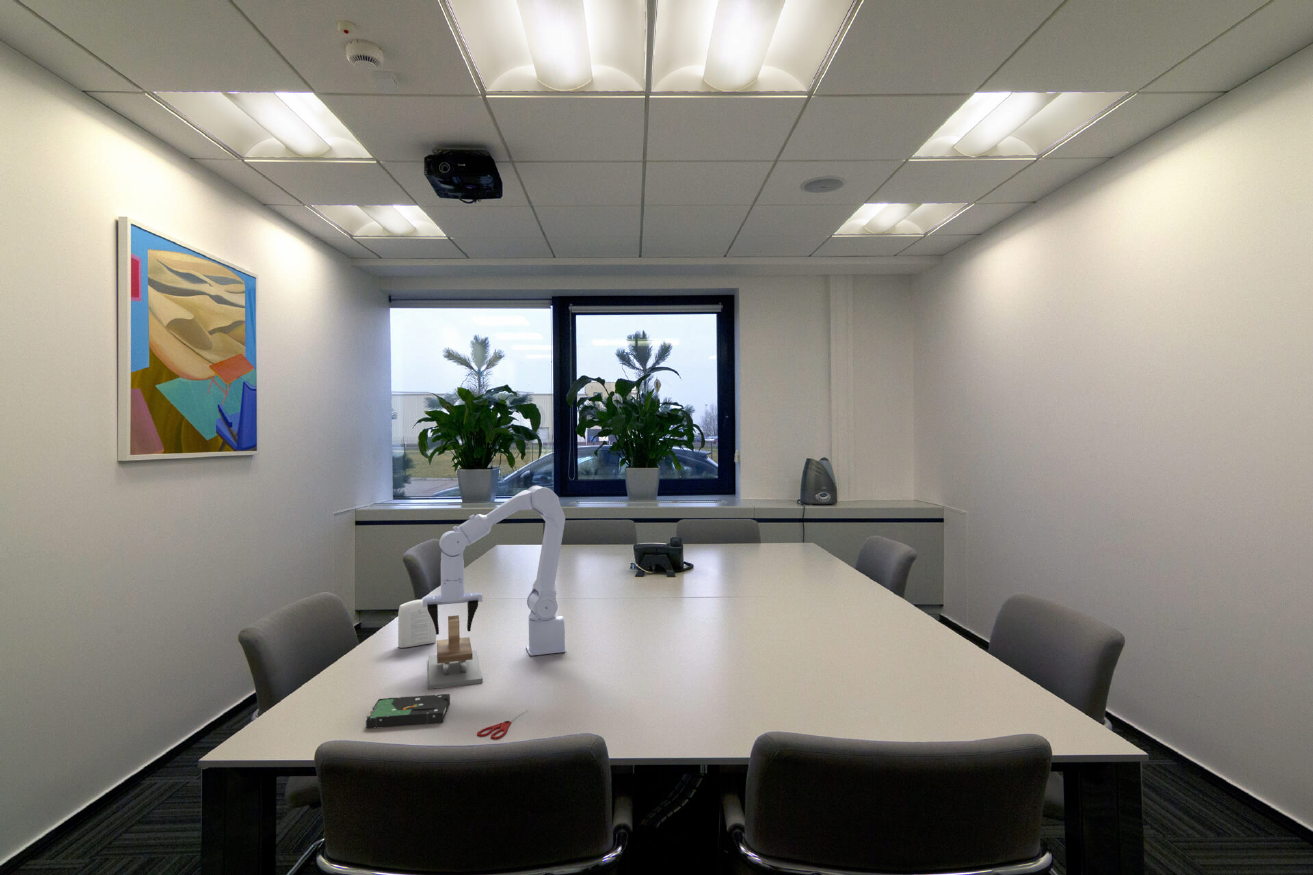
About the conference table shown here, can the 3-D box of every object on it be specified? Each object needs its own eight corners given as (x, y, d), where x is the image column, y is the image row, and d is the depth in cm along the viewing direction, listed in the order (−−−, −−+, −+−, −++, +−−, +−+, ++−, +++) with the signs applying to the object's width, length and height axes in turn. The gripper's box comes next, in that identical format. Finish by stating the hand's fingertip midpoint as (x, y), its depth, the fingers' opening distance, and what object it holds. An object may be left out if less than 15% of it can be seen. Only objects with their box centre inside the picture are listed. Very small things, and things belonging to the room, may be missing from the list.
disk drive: (450, 706, 145) (378, 710, 143) (450, 693, 145) (378, 697, 143) (443, 725, 135) (365, 731, 133) (443, 711, 135) (365, 717, 133)
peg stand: (476, 654, 178) (476, 637, 178) (482, 682, 157) (482, 663, 157) (428, 659, 174) (428, 642, 174) (428, 689, 154) (428, 669, 154)
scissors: (474, 737, 129) (474, 732, 129) (516, 710, 142) (516, 706, 142) (498, 742, 127) (498, 737, 127) (538, 714, 140) (538, 709, 140)
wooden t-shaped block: (472, 659, 160) (472, 623, 160) (437, 663, 158) (436, 627, 158) (469, 642, 174) (468, 609, 174) (436, 646, 171) (436, 612, 171)
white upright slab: (434, 639, 192) (433, 596, 192) (438, 643, 189) (438, 599, 189) (396, 645, 187) (396, 601, 187) (400, 649, 183) (399, 604, 183)
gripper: (480, 573, 178) (481, 624, 178) (422, 577, 173) (423, 630, 173) (482, 578, 171) (483, 632, 171) (422, 583, 166) (423, 638, 166)
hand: (453, 631), depth 172 cm, fingers open, 7 cm apart
